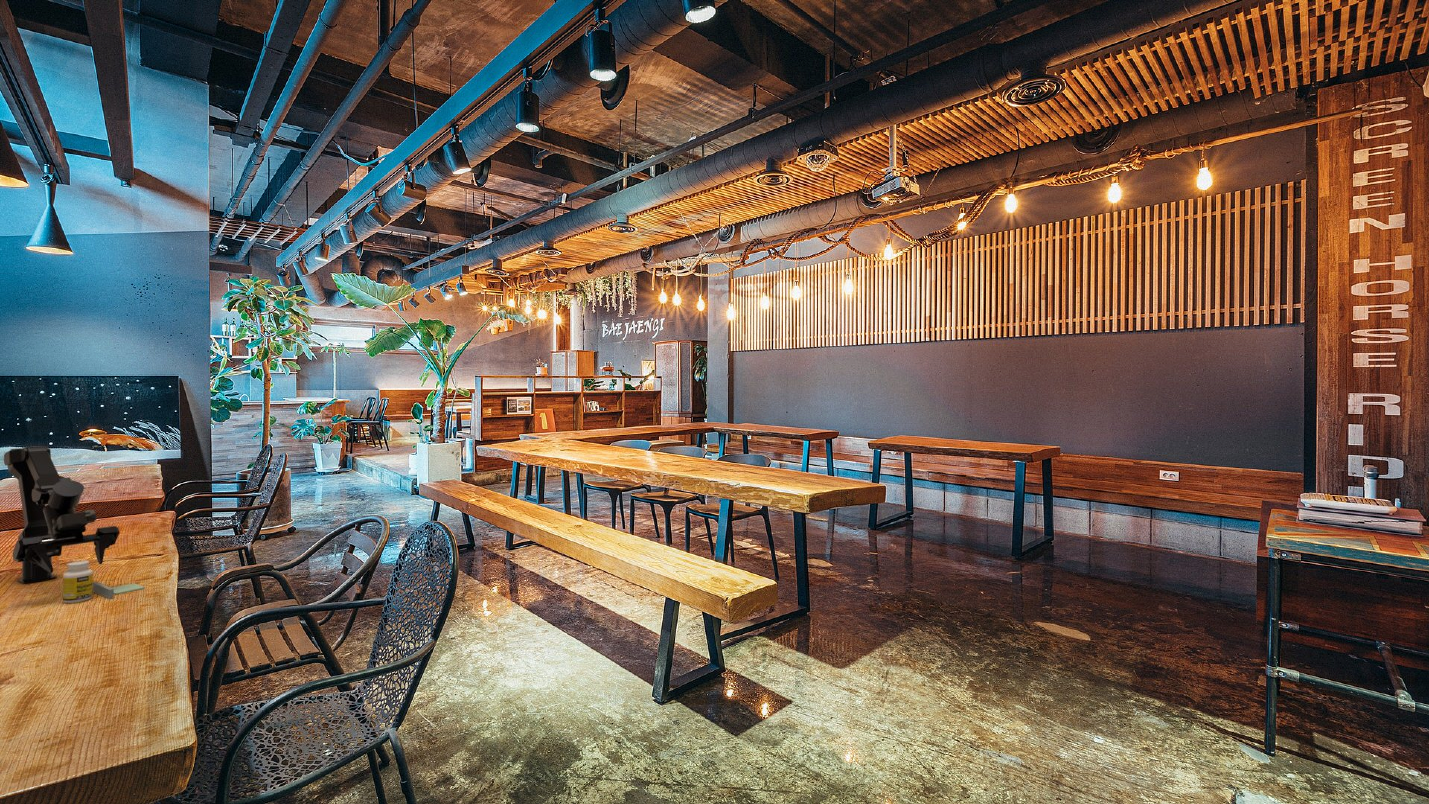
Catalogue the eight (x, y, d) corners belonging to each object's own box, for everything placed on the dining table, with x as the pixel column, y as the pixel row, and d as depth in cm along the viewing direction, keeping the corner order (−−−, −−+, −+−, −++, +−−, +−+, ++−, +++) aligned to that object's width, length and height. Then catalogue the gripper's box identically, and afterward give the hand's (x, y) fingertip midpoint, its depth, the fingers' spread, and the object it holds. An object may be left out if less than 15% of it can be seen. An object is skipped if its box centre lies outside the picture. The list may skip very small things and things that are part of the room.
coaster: (105, 590, 168) (105, 588, 168) (134, 584, 173) (134, 583, 173) (115, 594, 164) (115, 593, 164) (144, 588, 169) (144, 587, 169)
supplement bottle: (77, 604, 157) (77, 565, 157) (56, 603, 157) (56, 565, 157) (98, 597, 163) (98, 560, 162) (78, 596, 163) (78, 559, 163)
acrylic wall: (92, 591, 167) (92, 582, 167) (96, 590, 167) (96, 581, 167) (109, 599, 161) (109, 589, 161) (113, 598, 161) (113, 589, 161)
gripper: (17, 506, 155) (31, 556, 149) (117, 496, 171) (133, 541, 165) (8, 534, 158) (21, 583, 153) (106, 521, 175) (121, 566, 169)
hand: (77, 567), depth 160 cm, fingers open, 9 cm apart
